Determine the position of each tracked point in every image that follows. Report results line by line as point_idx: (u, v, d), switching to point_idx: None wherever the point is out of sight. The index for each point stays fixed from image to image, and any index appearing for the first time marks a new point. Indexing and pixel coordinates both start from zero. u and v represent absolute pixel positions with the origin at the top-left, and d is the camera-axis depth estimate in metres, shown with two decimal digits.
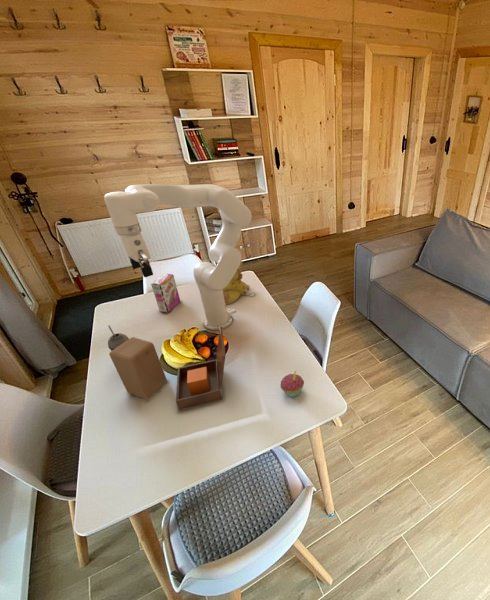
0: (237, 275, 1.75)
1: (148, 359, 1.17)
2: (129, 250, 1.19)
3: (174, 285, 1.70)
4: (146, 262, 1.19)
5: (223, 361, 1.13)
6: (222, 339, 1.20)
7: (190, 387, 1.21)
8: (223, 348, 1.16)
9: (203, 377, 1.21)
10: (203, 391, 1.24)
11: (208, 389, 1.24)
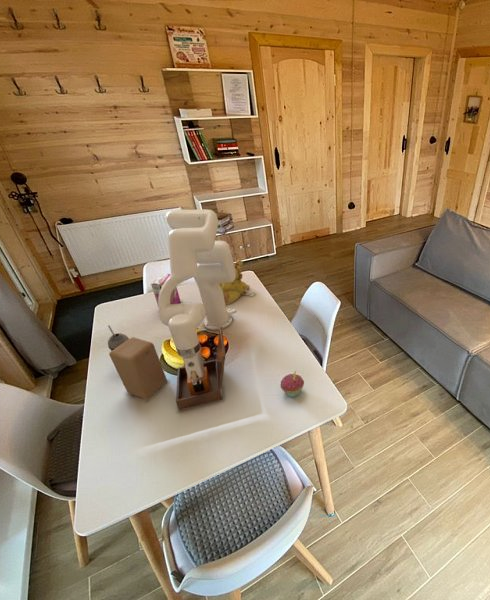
0: (237, 275, 1.75)
1: (148, 359, 1.17)
2: None
3: None
4: (195, 384, 1.16)
5: (223, 361, 1.13)
6: (222, 339, 1.20)
7: (190, 387, 1.21)
8: (223, 348, 1.16)
9: (204, 377, 1.21)
10: (203, 391, 1.24)
11: (208, 389, 1.24)
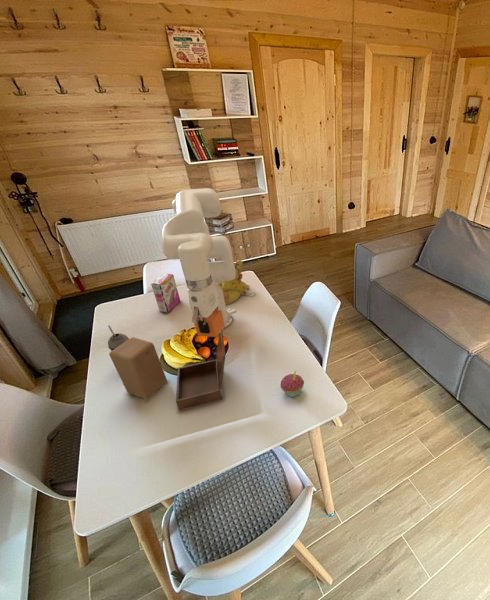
0: (237, 275, 1.75)
1: (148, 359, 1.17)
2: None
3: (174, 285, 1.70)
4: (195, 323, 1.05)
5: (223, 361, 1.13)
6: (222, 339, 1.20)
7: (196, 325, 1.11)
8: (223, 348, 1.16)
9: (210, 319, 1.10)
10: (209, 335, 1.12)
11: (214, 335, 1.12)
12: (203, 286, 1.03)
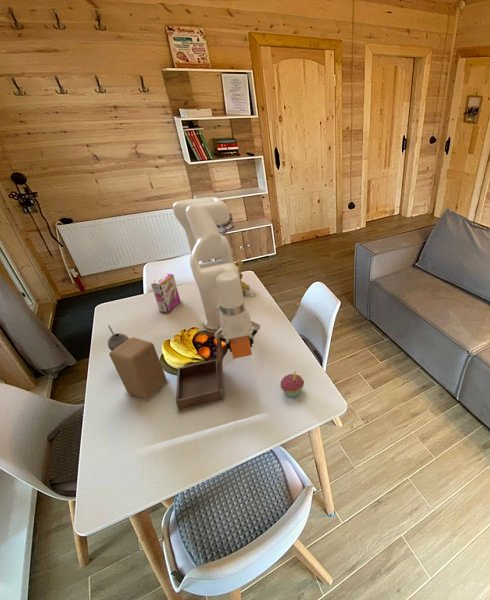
0: None
1: (148, 359, 1.17)
2: None
3: (174, 285, 1.70)
4: None
5: (221, 361, 1.13)
6: None
7: None
8: (221, 348, 1.15)
9: (232, 342, 1.18)
10: None
11: None
12: (225, 313, 1.11)
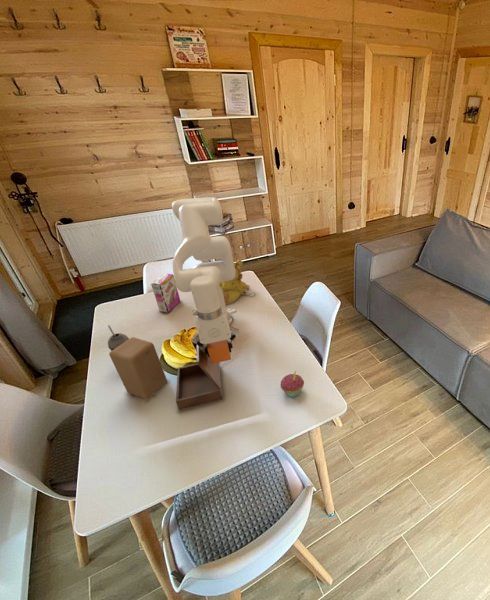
0: (237, 275, 1.75)
1: (148, 359, 1.17)
2: None
3: (174, 285, 1.70)
4: None
5: (201, 366, 1.11)
6: None
7: None
8: (197, 354, 1.13)
9: (210, 347, 1.16)
10: None
11: None
12: (201, 318, 1.09)
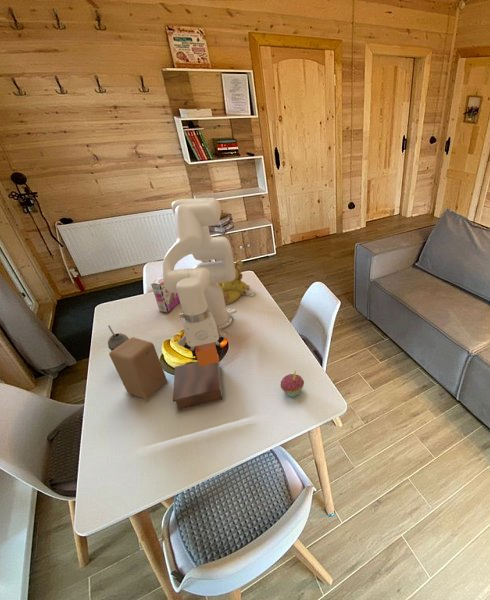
0: (237, 275, 1.75)
1: (148, 359, 1.17)
2: None
3: None
4: None
5: (180, 399, 1.15)
6: None
7: None
8: None
9: (197, 350, 1.15)
10: None
11: None
12: (188, 320, 1.08)
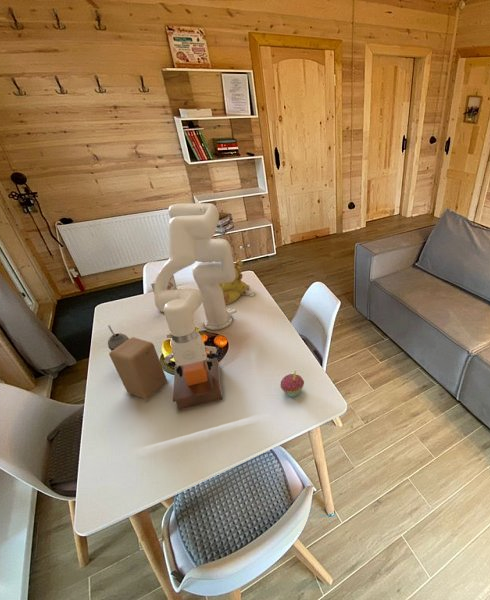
0: (237, 275, 1.75)
1: (148, 359, 1.17)
2: None
3: (174, 285, 1.70)
4: None
5: (180, 399, 1.15)
6: None
7: None
8: None
9: (185, 370, 1.17)
10: None
11: (187, 383, 1.19)
12: (176, 341, 1.10)
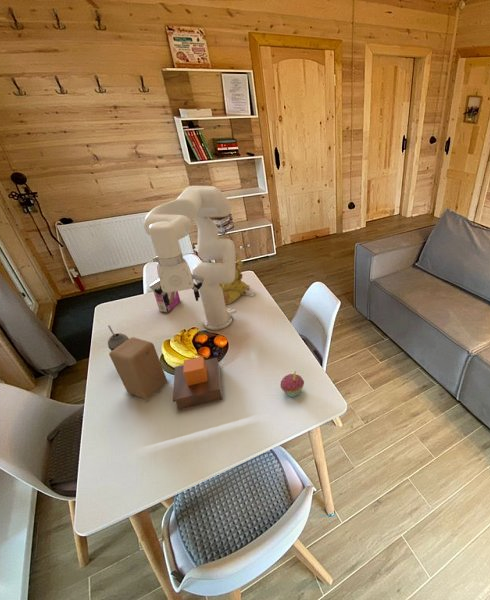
0: (237, 275, 1.75)
1: (148, 359, 1.17)
2: None
3: None
4: None
5: (180, 399, 1.15)
6: None
7: None
8: None
9: (185, 370, 1.17)
10: None
11: (187, 383, 1.19)
12: (161, 264, 1.10)
